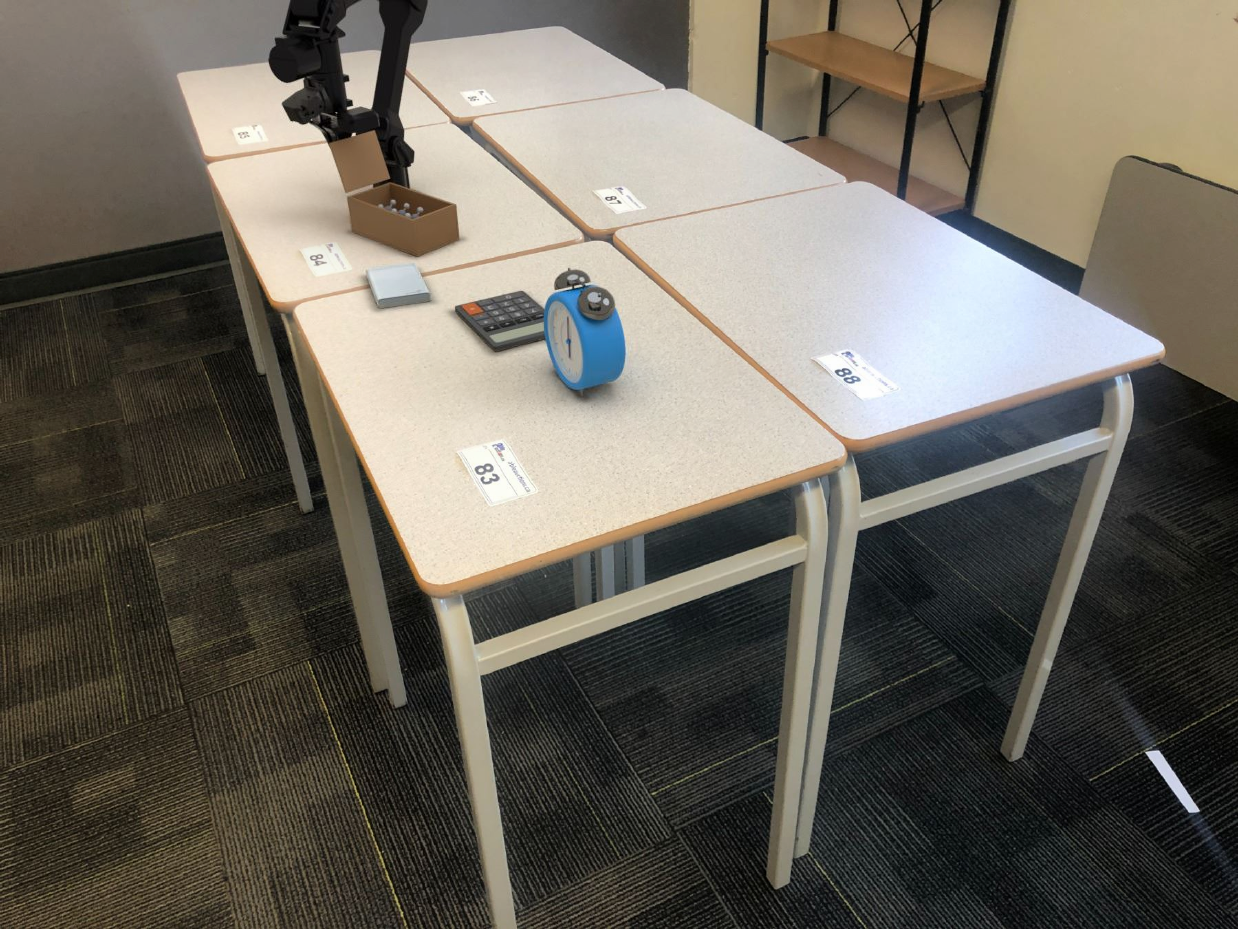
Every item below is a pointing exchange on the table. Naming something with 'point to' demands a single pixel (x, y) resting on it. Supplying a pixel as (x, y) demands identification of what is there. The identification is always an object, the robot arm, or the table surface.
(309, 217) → the table surface
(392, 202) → the molecular model
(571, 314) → the alarm clock
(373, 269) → the hard drive
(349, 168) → the carton flap
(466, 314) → the calculator
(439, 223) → the carton
